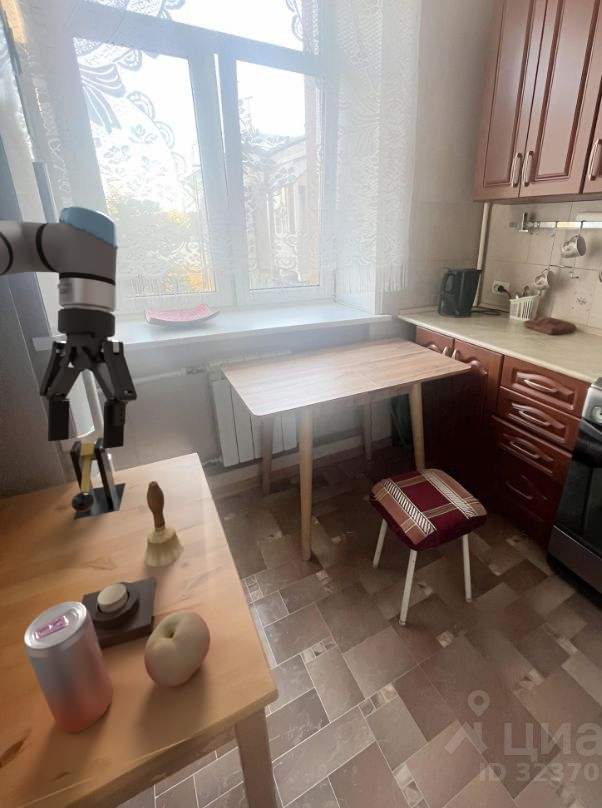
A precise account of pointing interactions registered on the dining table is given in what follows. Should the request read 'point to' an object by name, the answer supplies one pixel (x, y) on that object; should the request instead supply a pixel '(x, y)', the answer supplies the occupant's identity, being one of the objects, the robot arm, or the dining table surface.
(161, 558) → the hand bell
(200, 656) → the fruit
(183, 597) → the dining table surface
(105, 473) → the switch bracket
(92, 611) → the button block
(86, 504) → the lever
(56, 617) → the beverage can
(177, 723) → the dining table surface
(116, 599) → the button
